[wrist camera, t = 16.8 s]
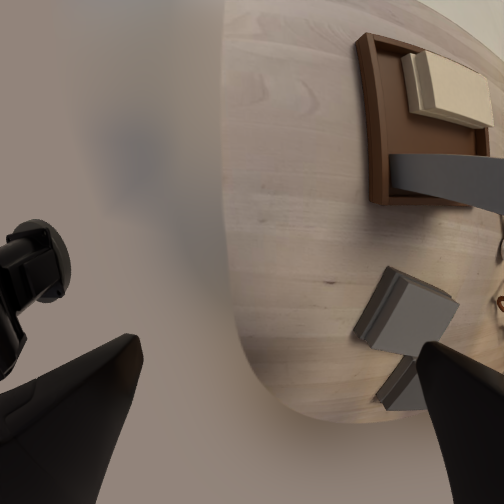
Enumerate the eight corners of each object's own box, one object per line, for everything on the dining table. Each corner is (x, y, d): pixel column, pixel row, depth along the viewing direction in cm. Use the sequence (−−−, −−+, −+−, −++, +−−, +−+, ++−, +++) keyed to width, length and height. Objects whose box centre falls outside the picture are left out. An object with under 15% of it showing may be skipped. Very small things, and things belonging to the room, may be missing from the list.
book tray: (368, 201, 19) (381, 205, 17) (354, 41, 15) (365, 31, 13) (475, 203, 20) (489, 206, 18) (466, 76, 16) (479, 73, 14)
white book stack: (409, 112, 16) (431, 107, 14) (400, 57, 15) (420, 47, 12) (473, 128, 17) (494, 128, 14) (466, 81, 15) (486, 76, 12)
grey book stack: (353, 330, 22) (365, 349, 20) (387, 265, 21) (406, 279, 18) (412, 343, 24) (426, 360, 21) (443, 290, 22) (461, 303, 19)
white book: (391, 187, 18) (536, 227, 6) (388, 154, 17) (537, 163, 5) (452, 182, 18) (573, 214, 6) (450, 154, 17) (574, 170, 5)
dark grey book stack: (375, 394, 26) (385, 411, 23) (407, 351, 24) (420, 367, 21) (418, 395, 27) (428, 410, 24) (447, 358, 25) (459, 371, 23)
